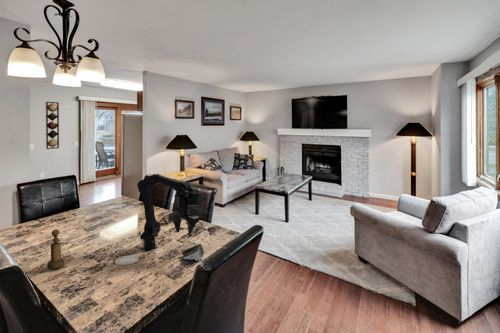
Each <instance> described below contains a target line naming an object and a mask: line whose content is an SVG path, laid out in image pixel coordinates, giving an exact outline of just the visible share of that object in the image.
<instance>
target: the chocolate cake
mask: <svg viewBox="0 0 500 333" xmlns="http://www.w3.org/2000/svg"><path fill="white" fill-rule="evenodd" d="M181 255H182V258H181V259H182V260H187V261H192V260H195V261H200V260H201V258H202V256H204V255H205V249H204V247H203V246H202V243H198V244H196V245H193V246H190V247H188V248H186V249H184V250H182V251H181Z"/></svg>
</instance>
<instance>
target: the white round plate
mask: <svg viewBox="0 0 500 333" xmlns="http://www.w3.org/2000/svg"><path fill="white" fill-rule="evenodd" d="M139 258H140V257H139V256H138V255H134V254H129V255H123V256H120V257H116V258H115V259H114V264H115V265H117V266H128V265H132V264H135V263H137V262H138V261H139Z"/></svg>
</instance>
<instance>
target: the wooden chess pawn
mask: <svg viewBox="0 0 500 333" xmlns="http://www.w3.org/2000/svg"><path fill="white" fill-rule="evenodd" d="M59 234H60V230H59V229H57V228H56V229H53V230H51V235H52V237H53V238H52V242H53V243H50V260H49V261H48V262H47V266H46V267H47V269H49V270H53V269H59V268H61V267H63V266H65V259H63V258H62V243H61V242H59V240H60V239H59V238H58V236H59Z"/></svg>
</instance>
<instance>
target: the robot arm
mask: <svg viewBox="0 0 500 333" xmlns="http://www.w3.org/2000/svg"><path fill="white" fill-rule="evenodd" d="M158 183H159V184H161V185H164V186H167V187H169V188H172V189H173V190H174V191H175V192H176V193H175V194H174V197H176V198H177V206H176V208H175V210H173V212H172V211H171V213H169V214H168V216H167V217H168V219H167V220H169V221H170V222H171V223H173V226H174V228H175V232H176V233H180V230H181V223H182V221H183V220H184V221H186V223H185V224H186V225H187V233H188V236H191V235H192V232H193V230H194V228H195V226H196V225H197V224H198V223H199V222H200V216H198V215H192V214H191V213H190V209H191V208H192V207H191V206H195V207H201V206H202V205H203V200H204V199H203V196H202V194H201V192H195V191H194V189H193V188H192V186H191V183H190V182H188V181H184V180H176V179H173V178H170V177H167V176H164V175H162V174H160V173H154V174H151V175H150V176H148V177H146V178H143V179H140V180H139V181H138V182H137V184H136V187H137V190H138V192H139V193H140V195H141V196H142V197H141V198H142V203H143V209H144V217H145V223H144V226H143V231H142V233H141V234H140V236H139V239H140V240H142V241H143V247H141V248H140V249H141V250H144V251H147V252H149V251H152V250H156V249H158V248H159V247H158V246H156V237H158V235H159V233H160V232H161V229H162V227H161V222H160V221H157V219H156V215H155V207H154V202H153V196H152V195H153V191H154V187H155V185H156V184H158Z"/></svg>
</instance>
